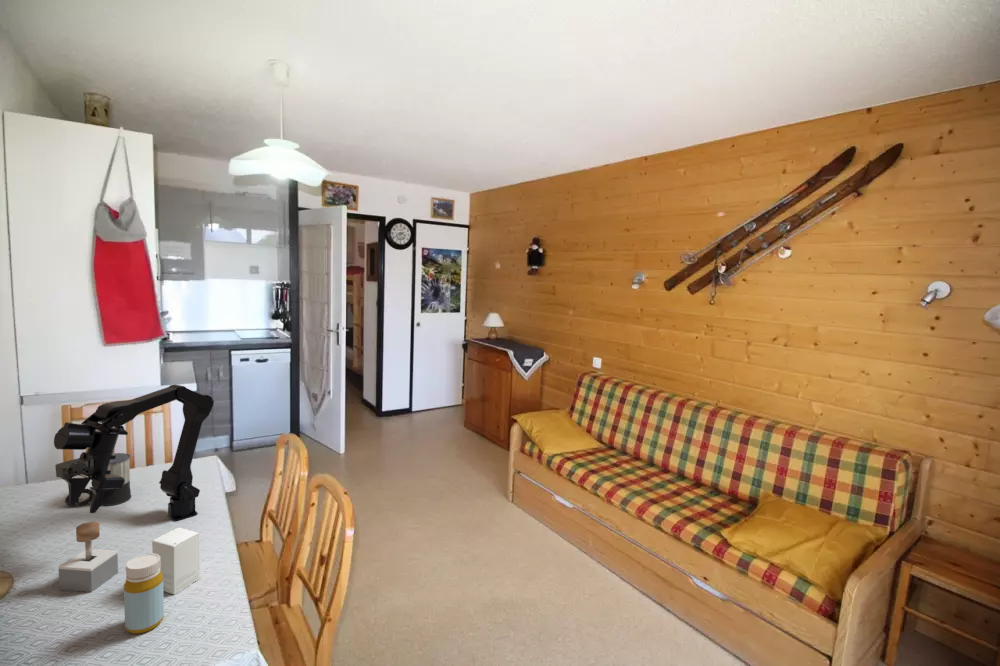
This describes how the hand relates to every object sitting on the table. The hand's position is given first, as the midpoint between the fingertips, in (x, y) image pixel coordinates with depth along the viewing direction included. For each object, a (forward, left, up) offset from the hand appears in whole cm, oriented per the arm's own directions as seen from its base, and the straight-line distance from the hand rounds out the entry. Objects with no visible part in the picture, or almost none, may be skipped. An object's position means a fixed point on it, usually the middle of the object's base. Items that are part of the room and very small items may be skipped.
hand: (81, 508), depth 132 cm
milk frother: (-11, -35, -14) cm, 40 cm away
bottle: (-2, +41, -14) cm, 43 cm away
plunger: (+2, +14, -8) cm, 16 cm away
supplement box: (-12, +30, -14) cm, 35 cm away
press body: (+2, +14, -14) cm, 19 cm away
